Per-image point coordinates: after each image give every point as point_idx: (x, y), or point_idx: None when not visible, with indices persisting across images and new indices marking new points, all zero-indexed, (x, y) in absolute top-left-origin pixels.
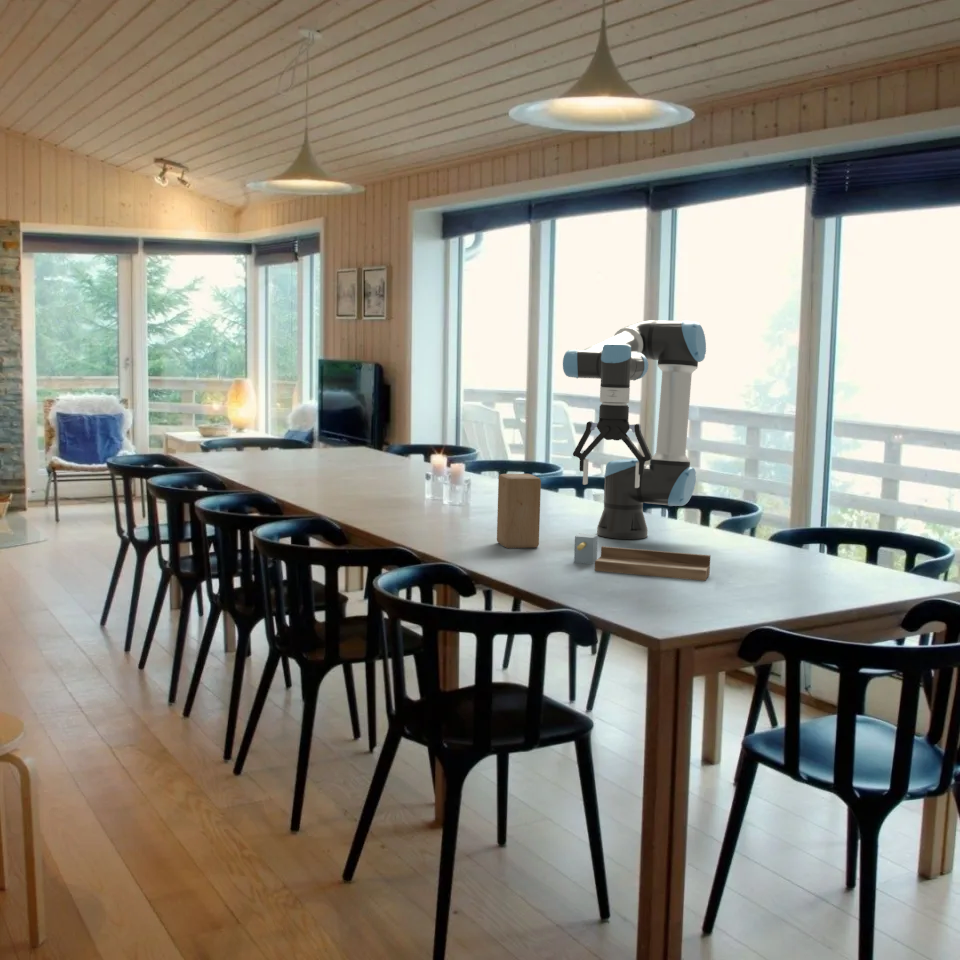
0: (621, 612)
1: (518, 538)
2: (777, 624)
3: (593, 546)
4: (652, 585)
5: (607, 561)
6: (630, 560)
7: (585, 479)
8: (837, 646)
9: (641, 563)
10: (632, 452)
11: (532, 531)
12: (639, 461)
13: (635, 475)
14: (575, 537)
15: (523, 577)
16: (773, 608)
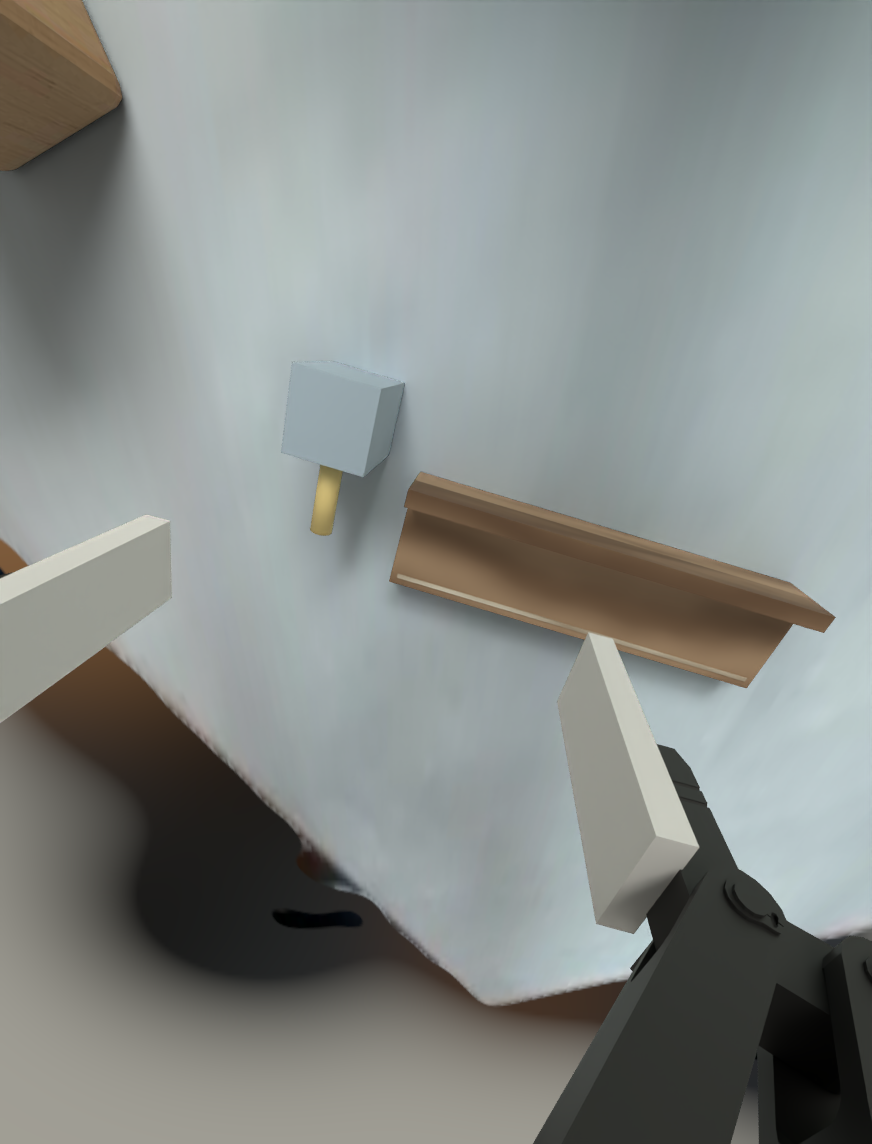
0: (441, 906)
1: (8, 135)
2: None
3: (374, 464)
4: (546, 726)
5: (430, 586)
6: (515, 557)
7: (139, 618)
8: None
9: (546, 602)
10: (566, 1094)
11: (31, 81)
12: (649, 953)
13: (573, 782)
14: (285, 451)
15: (212, 667)
16: (779, 895)
